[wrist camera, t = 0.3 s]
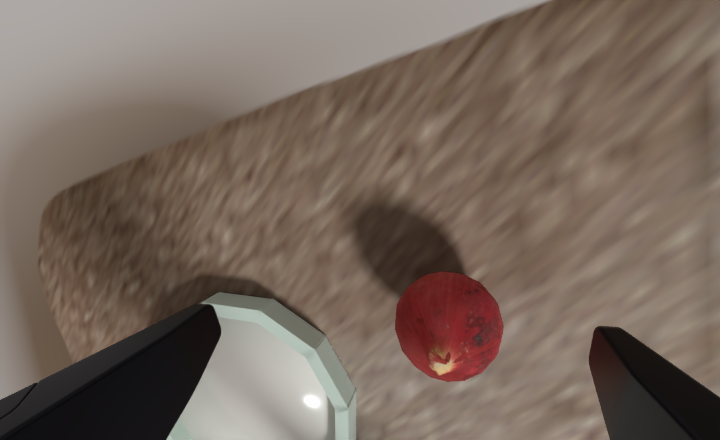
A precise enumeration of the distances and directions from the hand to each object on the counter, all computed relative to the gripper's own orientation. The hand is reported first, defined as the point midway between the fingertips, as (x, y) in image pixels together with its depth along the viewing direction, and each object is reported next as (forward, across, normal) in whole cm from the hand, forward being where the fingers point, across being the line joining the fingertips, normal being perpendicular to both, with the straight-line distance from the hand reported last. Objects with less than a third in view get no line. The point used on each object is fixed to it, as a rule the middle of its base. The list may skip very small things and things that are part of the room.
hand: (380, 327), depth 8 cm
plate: (+12, +15, +19) cm, 26 cm away
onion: (+14, -2, +9) cm, 17 cm away
